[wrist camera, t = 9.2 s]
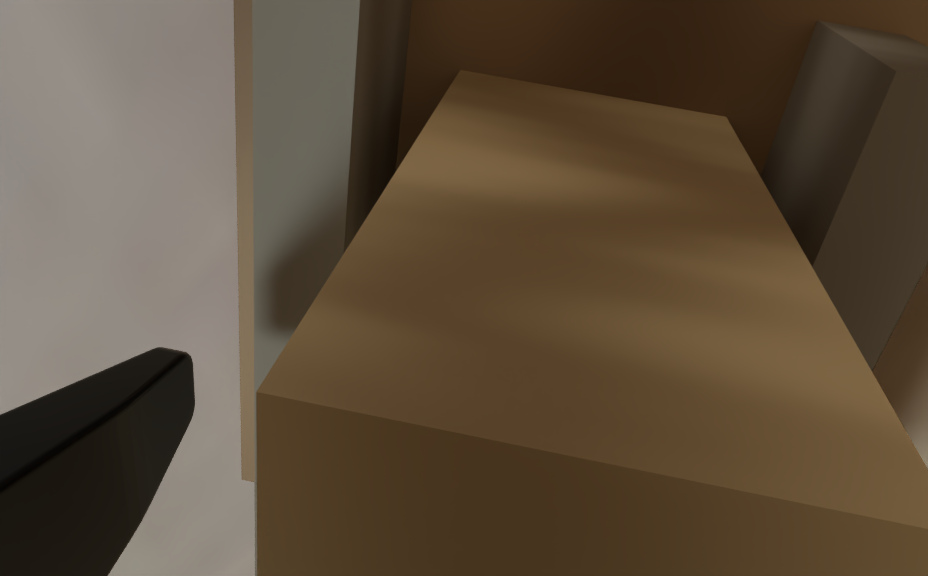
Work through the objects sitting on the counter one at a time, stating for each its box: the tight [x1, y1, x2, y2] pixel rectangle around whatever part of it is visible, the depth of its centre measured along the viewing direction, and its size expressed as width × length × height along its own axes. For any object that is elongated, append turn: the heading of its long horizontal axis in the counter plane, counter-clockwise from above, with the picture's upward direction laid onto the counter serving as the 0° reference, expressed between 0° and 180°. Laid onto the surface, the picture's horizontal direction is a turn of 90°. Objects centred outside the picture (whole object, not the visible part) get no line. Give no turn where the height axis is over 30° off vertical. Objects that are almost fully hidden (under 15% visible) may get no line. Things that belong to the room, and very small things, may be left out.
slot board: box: [234, 0, 928, 576], centre depth 12 cm, size 11×12×4 cm
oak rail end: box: [256, 70, 928, 576], centre depth 9 cm, size 4×7×8 cm, turn 172°
